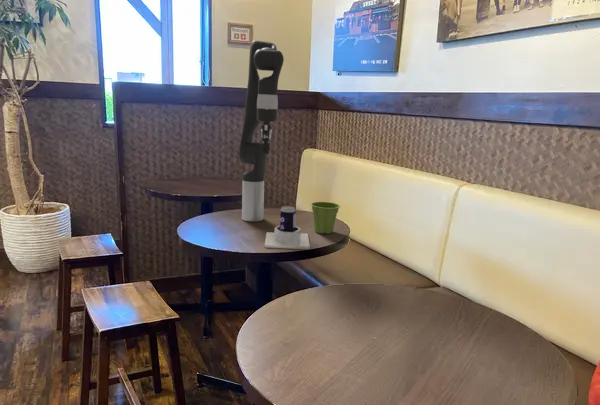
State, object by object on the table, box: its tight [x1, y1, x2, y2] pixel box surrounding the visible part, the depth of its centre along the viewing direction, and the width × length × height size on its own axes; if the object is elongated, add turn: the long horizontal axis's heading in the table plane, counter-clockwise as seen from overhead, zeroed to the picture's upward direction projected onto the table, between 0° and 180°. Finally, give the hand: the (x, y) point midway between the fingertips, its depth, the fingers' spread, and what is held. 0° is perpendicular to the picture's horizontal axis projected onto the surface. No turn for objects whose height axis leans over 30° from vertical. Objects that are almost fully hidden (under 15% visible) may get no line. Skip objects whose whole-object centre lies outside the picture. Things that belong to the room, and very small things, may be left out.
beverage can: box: [279, 205, 297, 232], centre depth 167 cm, size 6×6×12 cm
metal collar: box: [264, 225, 311, 250], centre depth 168 cm, size 16×16×5 cm
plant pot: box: [310, 201, 341, 235], centre depth 183 cm, size 12×12×11 cm
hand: (266, 152), depth 168 cm, fingers open, 8 cm apart
